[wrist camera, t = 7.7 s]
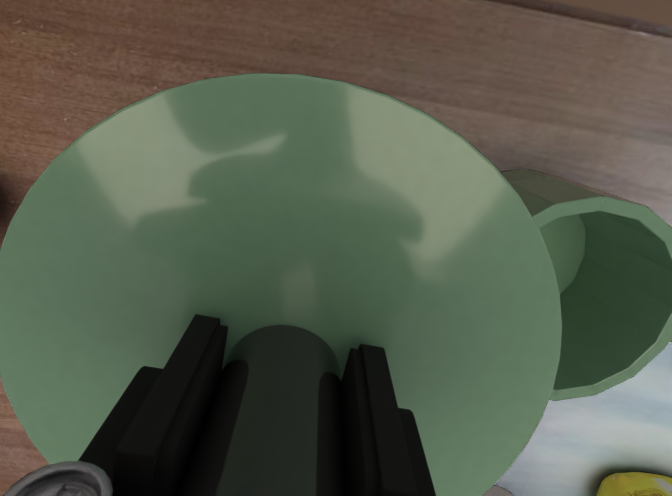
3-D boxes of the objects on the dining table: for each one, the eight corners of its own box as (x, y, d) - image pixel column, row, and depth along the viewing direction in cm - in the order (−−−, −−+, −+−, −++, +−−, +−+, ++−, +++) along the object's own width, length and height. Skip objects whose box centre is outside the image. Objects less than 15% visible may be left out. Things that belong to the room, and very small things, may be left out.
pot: (422, 143, 31) (462, 162, 22) (652, 198, 32) (777, 237, 23) (376, 300, 35) (394, 371, 26) (583, 342, 36) (668, 422, 27)
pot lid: (15, 6, 9) (-597, -168, 3) (626, 149, 10) (1045, 227, 4) (28, 496, 13) (-208, 817, 7) (451, 553, 14) (536, 863, 9)
